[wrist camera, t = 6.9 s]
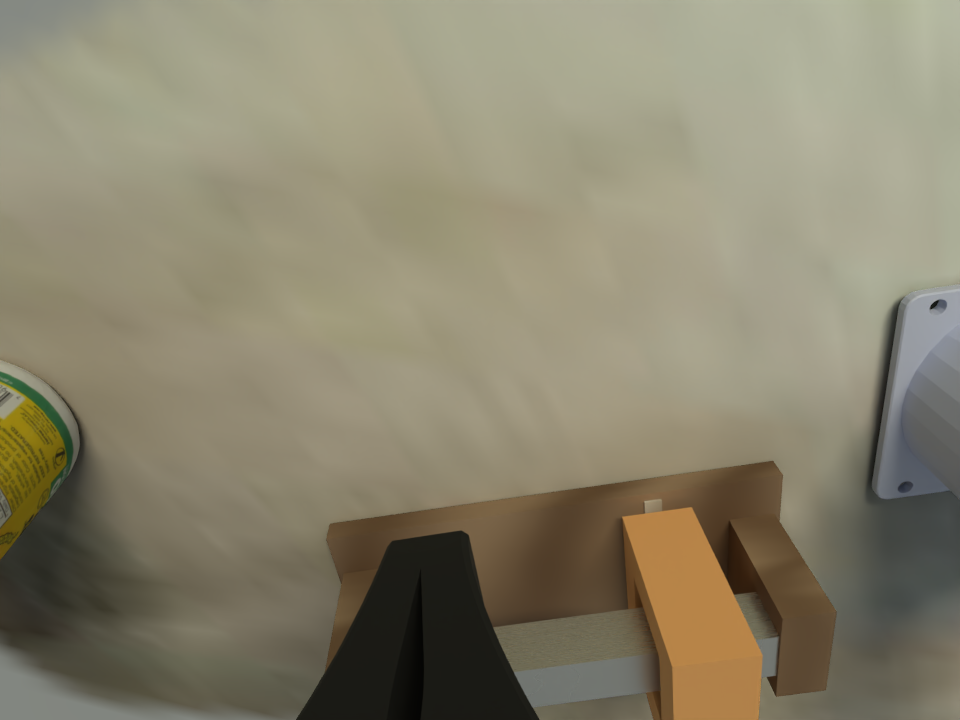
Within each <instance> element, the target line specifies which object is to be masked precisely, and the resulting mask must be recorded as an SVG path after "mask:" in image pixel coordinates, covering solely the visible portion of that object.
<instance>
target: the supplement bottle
mask: <svg viewBox="0 0 960 720" xmlns="http://www.w3.org/2000/svg"><path fill="white" fill-rule="evenodd" d="M79 447H80V440H79V431H78V425H77V423H76V420H75V418H74V416H73V415H72V413H71V410H70V409H69V407H68V406H67V405H66V403H65V402H64V401H63V400H62V398H61V397H60V396H59V395H58V394H57V392H56V391H55V390H53V389H52V388H51V387H50V386H49V385H48V384H47V383H46V382H44V381H43V380H42V379H40V378H39V377H37V376H35V375H34V374H32V373H30V372H29V371H27V370H25V369H23V368H21V367H18V366H16V365H13V364H11V363H8V362H5V361H1V360H0V560H1V558H2V557H3V556H4V555H5V553H6V552H7V551H8V550H9V548H10V547H11V546H12V545H13V543H14V542H15V541H16V539H17V538H18V537H19V536H20V535H21V534H22V532H23V531H24V530H25V529H26V527H27V526H28V525H29V524H30V522H31V521H32V520H33V519H34V518H35V516H36V515H37V514H38V512H39V511H40V510H41V509H42V508H43V507H44V506H45V505H46V503H47V502H48V500H49V499H50V498H51V497H52V496H53V494H54V493H55V492H56V491H57V489H58V488H59V487H60V486H61V484H62V483H63V482H64V480H65V479H66V478H67V476H68V475H69V473H70V471H71V470H72V468H73V466H74V463H75V461H76V459H77V456H78V452H79Z"/></svg>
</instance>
